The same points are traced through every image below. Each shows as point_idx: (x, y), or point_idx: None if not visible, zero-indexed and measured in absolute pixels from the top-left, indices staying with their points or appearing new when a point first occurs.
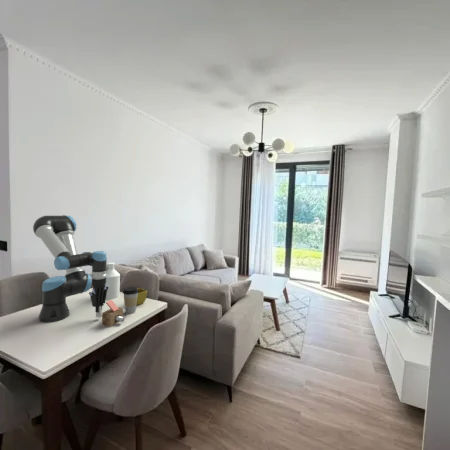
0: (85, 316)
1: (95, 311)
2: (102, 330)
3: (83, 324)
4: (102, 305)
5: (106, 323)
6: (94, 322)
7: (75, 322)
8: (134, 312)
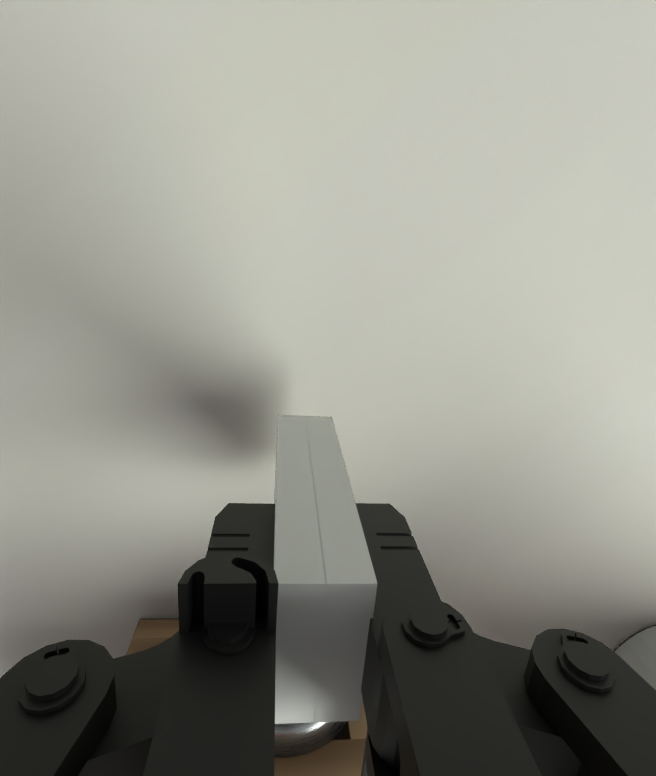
0: (346, 63)
1: (217, 517)
2: None
3: (15, 326)
4: (362, 770)
5: None
6: (170, 453)
7: (3, 74)
8: None
